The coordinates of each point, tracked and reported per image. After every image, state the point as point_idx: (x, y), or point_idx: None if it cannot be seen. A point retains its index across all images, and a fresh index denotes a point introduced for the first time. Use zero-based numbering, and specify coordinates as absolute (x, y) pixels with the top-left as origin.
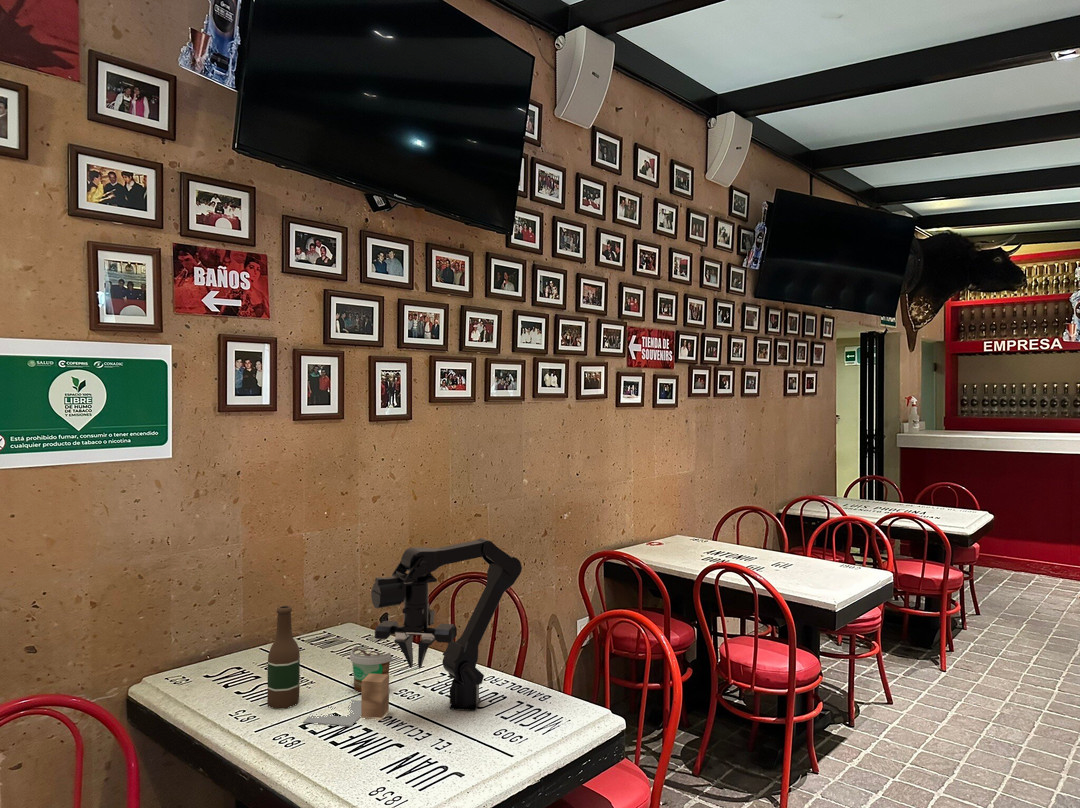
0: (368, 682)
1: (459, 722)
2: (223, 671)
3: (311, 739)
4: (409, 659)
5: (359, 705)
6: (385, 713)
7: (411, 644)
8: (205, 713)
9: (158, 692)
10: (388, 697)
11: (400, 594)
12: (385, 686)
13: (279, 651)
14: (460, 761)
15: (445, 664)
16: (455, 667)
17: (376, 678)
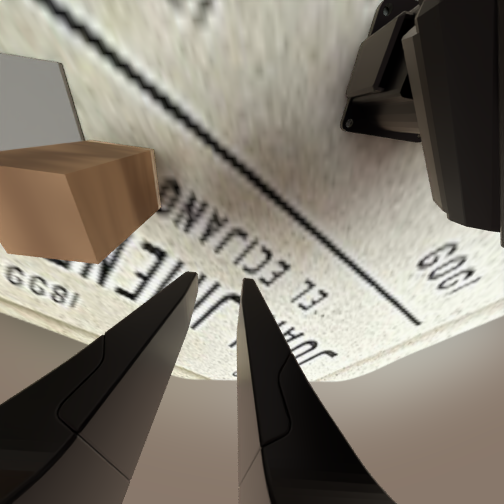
0: (43, 254)
1: (355, 215)
2: None
3: (77, 284)
4: (176, 356)
5: (38, 110)
6: (154, 179)
7: (84, 448)
8: None
9: None
10: (131, 159)
11: None
12: (107, 210)
13: None
14: (335, 334)
15: (430, 90)
16: (474, 226)
17: (44, 226)
